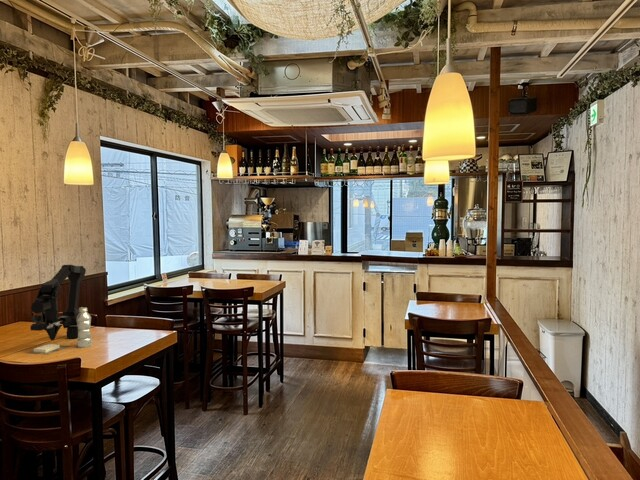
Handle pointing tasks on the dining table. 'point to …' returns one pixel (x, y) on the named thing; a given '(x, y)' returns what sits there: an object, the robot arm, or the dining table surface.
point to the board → (49, 351)
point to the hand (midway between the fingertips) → (52, 340)
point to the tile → (46, 348)
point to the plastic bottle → (84, 328)
